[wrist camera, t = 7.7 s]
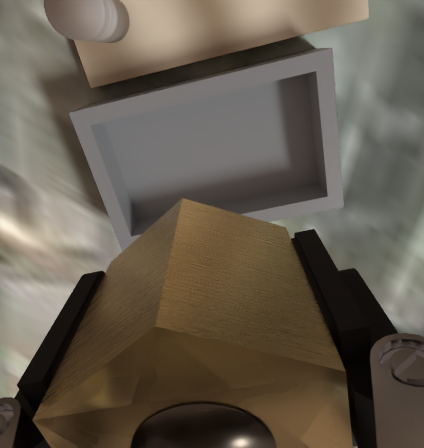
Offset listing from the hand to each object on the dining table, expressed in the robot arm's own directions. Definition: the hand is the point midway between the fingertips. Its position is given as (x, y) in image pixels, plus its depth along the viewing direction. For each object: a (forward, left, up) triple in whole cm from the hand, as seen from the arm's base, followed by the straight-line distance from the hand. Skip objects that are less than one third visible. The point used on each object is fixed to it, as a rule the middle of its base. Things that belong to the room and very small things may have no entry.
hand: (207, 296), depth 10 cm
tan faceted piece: (0, 0, 0) cm, 0 cm away
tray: (0, 0, -18) cm, 18 cm away
